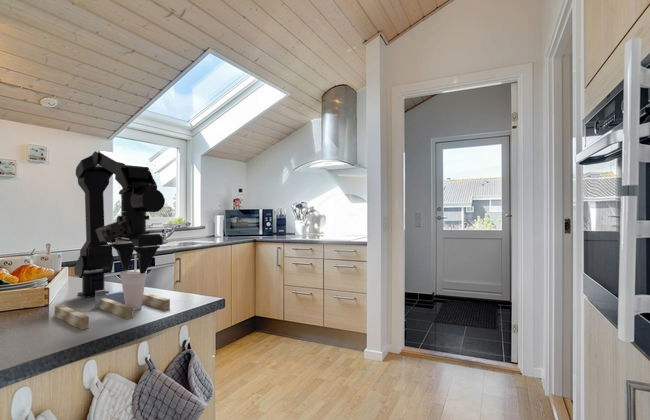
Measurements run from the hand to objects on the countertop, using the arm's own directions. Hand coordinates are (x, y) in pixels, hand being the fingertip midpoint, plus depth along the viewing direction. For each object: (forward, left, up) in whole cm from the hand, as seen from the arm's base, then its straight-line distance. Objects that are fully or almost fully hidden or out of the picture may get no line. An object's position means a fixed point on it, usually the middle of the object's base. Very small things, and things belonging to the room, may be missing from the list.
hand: (133, 271), depth 96 cm
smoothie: (0, 0, -10) cm, 10 cm away
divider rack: (0, -5, -10) cm, 11 cm away
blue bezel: (-9, 0, -10) cm, 13 cm away
